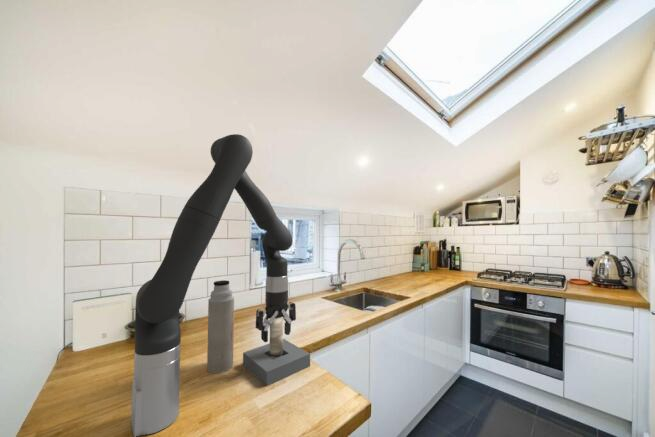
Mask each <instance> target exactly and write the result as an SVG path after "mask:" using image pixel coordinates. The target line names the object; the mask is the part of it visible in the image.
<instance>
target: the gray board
mask: <svg viewBox="0 0 655 437" xmlns="http://www.w3.org/2000/svg"><path fill="white" fill-rule="evenodd" d="M269 352H270V343H267V344H264V345H261V346H259V347H256V348H252V349H249V350H246V351H243V353H242V365H243V366H244V367H245V368H246V369H247V370H248V371H249V372H250V373H252V374H253V375H254V376H255V378H257V379H258V380H260V382H262V383H263V385H265V386H267V387H268V386H270V385H272V384H274V383H277V382H279V381H281V380H283V379H286V378H288V377H289V376H291V375H294V374H296V373H298V372H300V371H302V370H305V369H308V368H310V367H311V354H310V353H309V352H308V351H306V350H305V349H302V348H301V347H299V346H297V345H295V344H294V343H292V342H290V341H289V340H286V339H285V338H283V354H282V356H281V357H279V358H276V359H274V360H273V359H272V358H271V356H270V355H269Z"/></svg>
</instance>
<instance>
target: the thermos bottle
mask: <svg viewBox="0 0 655 437" xmlns="http://www.w3.org/2000/svg"><path fill="white" fill-rule="evenodd" d="M207 303H208V305H207V308H208V310H207V312H208V313H207V353H206V354H207V356H206V357H207V358H206V360H207V361H206V362H207V363H206V366H207V367H206V369H207V372H209V373H212V374H218V373H224V372H226V371H229V370H230V369H231V368H232V367H233V366H234V337H235V336H234V332H235V328H234V327H235V296H233V290H232V289H230V281H229V280H226V279H225V280H224V279H223V280H216V281H214V282H213V290H212V291H210V298H209V299H208V302H207Z"/></svg>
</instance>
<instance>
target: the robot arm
mask: <svg viewBox="0 0 655 437" xmlns="http://www.w3.org/2000/svg"><path fill="white" fill-rule="evenodd" d="M253 153H254V152H253V146H252V143H251V141H250V140H249V138H247V137H246V136H244V135H242V134H239V133H238V134H235V133H234V134H229V135H226V136H223V137H220V138H218V139H216V140H215V141H213V143H212V144H211V147H210V156H211V158H212V160H213V162H214V165H213V167H212V170H211V171H210V173H209V175H208V176H207V177H206V179H205V180H204V181H203V182H202V183H201V184H200V185H199V186H198V187H197V189H195V191H194V192H193V193H192V194H191V196H190V197H189V198H188V200H186V203H185V205H184V206H183V208H182V210H181V212H180V213H179V216H178V218H177V219H176V222H175V225H174V227H173V230H172V233H171V236H170V239H169V242H168V246H167V249H166V252H165V255H164V257H163V259H162V261H161V263H160V265H159V267H158V269H157V270H156V272H155V273H154V274H153V277H152V278H151V279H149V280H148V281H146V282H145V283H144V284H142V285H141V287H140V288H139V289H138V291H137V293H136V296H135V316H134V320H135V322H134V325H135V326H134V361H133V363H134V364H133V365H134V366H133V381H132V382H131V409H130V412H131V414H130V425H131V429H132V430H131V431H132V435H133V437H136V436H137V437H140V436H144V435H145V436H146V434H147V435H151V434H154V433H155V434H156V433H158V432H160V431H163V430H164V429H166V428H168V427H169V426H170V425H172V424H173V423H174V422H175V421H176V420H177V418H178V416H179V415H180V414H179V413H180V381H181V380H180V379H181V378H180V376H181V374H180V373H181V372H180V371H181V337H182V336H181V335H182V334H181V333H182V332H181V324H180V309H182V306H183V303H184V301H185V298H186V296H187V292H188V289H189V286H190V284H191V281H192V278H193V276H194V274H195V270H196V268H197V267H198V266H197V265H198V264H199V262H200V260H201V259H202V257H203V255H204V254H205V251H206V249H207V248H208V246H209V243H210V242H211V240H212V239H213V236H214V234H215V232H216V230H217V228H218V225H219V224H220V222H221V219H222V217H223V214H224V212H225V210H226V208H227V205H228V203H229V201H230V199H231V198H232V197H231V196H232V195H233V192H234V190H235V191H236V193H237V194H238V195H239V197H240V199H241V200H242V201H243V203H244V205H245V206H246V208H247V209H248V212H249V214H250V215H251V217H252V219H253V221H254V222H255V224H256V226H257V227H258V228H259V230H261V231H262V230H263V231H265V233H264V234H263V236H262V241H261V245H262V251H263V255H264V260H265V262H266V263H265V264H266V271H265V272H266V278H265V298H264V300H265V307H264V309H259V308H258V309H257V310H256V311H255V312H256V315H255V329H257V330H259V331H261V334H260V336H261V340H262V341H263V342H264V343H268V341H269V329H270V325H271V324H272V322H273V320H274V319H275V318H279V317H283V322H284V325H283V334H284V335H286V336H289V335H290V333H292V332H291V331H292V330H291V329H292V328H291V327H292V322H294V321H296V319H297V312H296V310H297V309H296V308H297V307H296V303H295V302H291V301H289V276H288V266H289V265H288V260H287V259H286V258H285V257H283V256H282V255H281V252H284V251H289V249H290V248H291V247H292V245H293V236H292V233H291V230H289V229H288V227H287V226H286V225H285V224H284V222H283V221H282V220H281V219H280V218H279V217H278V216H277V214H276V212H275V209H274V208H273V206H272V203H271V202H270V200H269V199H268V198H267V196H266V195H265V194H264V193H263V191H262V190H261V189H260V188H259V187H258V186H257V185H256V184H255V182H254V181H253V180H252V179H251V178H250V176H249V174H248V172H247V171H246V170H247V169H248V166H249V165H250V163H251V161H252V158H253ZM287 312H288V313H287Z"/></svg>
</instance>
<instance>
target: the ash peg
mask: <svg viewBox="0 0 655 437" xmlns="http://www.w3.org/2000/svg"><path fill="white" fill-rule="evenodd" d="M283 339H284V319H283V317H279V318H275V319H274V320H273V322H272V324H271V325H270V326H269V344H270V352H269V355H270V356H271V358H272V359H273V360H274V359H276V358H279V357H281V356H282V354H283Z"/></svg>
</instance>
